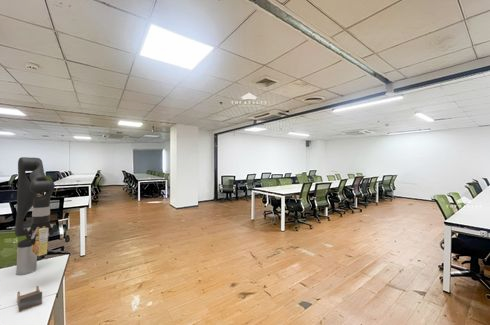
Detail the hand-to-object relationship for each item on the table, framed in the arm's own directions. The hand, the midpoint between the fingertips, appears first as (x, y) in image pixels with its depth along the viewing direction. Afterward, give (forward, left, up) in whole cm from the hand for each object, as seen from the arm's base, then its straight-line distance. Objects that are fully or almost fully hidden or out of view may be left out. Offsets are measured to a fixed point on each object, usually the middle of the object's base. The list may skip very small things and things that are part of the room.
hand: (39, 243), depth 123 cm
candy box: (0, 0, -6) cm, 6 cm away
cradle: (+17, -5, -24) cm, 30 cm away
